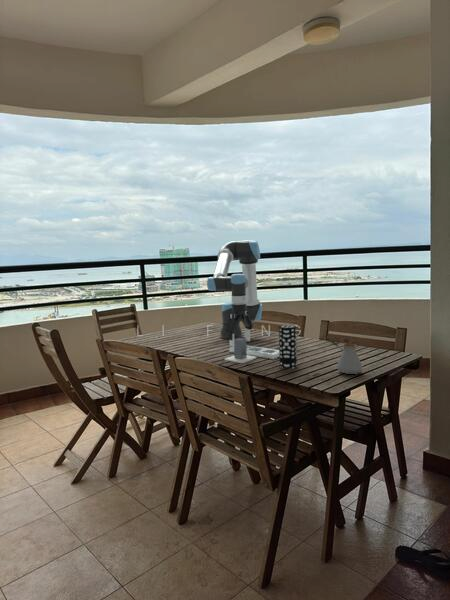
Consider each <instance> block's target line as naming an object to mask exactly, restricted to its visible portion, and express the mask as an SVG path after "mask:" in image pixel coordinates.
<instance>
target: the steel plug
mask: <svg viewBox="0 0 450 600" xmlns="http://www.w3.org/2000/svg"><path fill="white" fill-rule="evenodd" d="M234 345H235V346H234V353H233V354H234V355H233V356H234V358H237V359H244V358H246V357H247V353H246V345H247V341H246V339H245V338H243V337H241V338H237V339H234Z"/></svg>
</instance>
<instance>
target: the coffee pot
mask: <svg viewBox="0 0 450 600" xmlns="http://www.w3.org/2000/svg"><path fill="white" fill-rule="evenodd" d="M323 340H327V341H329V342H330V343H331V344H333V345H335V346H336V347H337V348H338V349H340V350H341V351H342V354H341V355H340V357H339V359H338V362H337V364H336V368H337V370H338V371H339V372H340V373H341V372H342V373H347V374H355V373H358V374H359V373H361V372H362V371H363V367H364V366H363V364H362V362H361V360H360V358H359V355H358V353H357V351H356V349H357V347H358V346H357V344H355V343H344V344H342V345H339V344H338V343H337V342H335V341H334V340H333V339H331V338H330V337H328V336H326V335H324V337H323ZM342 373H341V374H342Z"/></svg>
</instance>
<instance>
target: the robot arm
mask: <svg viewBox="0 0 450 600" xmlns="http://www.w3.org/2000/svg"><path fill="white" fill-rule="evenodd" d="M260 259H261V250H260V246H259V243H258V241H257V240H251V239H249V240H247V239H246V240H236V241H235V240H232V241H228V242H227V243H225V244H223V246H221V248H220V249H219V250H218V254H217V262H216V266H215V268H214V272H213V276H210V277H207V279H206V287H207V290H208V291H209V292H210V291H211V292H212V291H214V292H217V291H219V292H221V291H225V292H226V291H229V292H230V291H231V301H230V302H225V303H223V304H222V306H221V319H222V320H221V325H222V327H221V329H220V333H219V337H220V338H221V339H224V340H228V341H229V343H228V344H229V346H230V347H233V346H235V345H234V339H237V338H243V337H245V338H244V339H246V342H251V330H252V329H253V326H254V325H253V323H254V322H260V321H261V319H262V312H263V303H261V301H260V299H259V298H258V287H257V270H256V269H257V268H256V267H257V266H256V265H257V263H258V262H259V260H260ZM234 260H237V261H238V262H239V264H240V265H241V269H242V273H233V274H231V276H228V273H229V269H230V265H231V263H232V261H234ZM240 322H241V323H242V324H243V326H244V327H245V328H244V334H243V331H242V327H241V324H240ZM243 335H244V336H243Z"/></svg>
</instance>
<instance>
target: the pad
mask: <svg viewBox="0 0 450 600" xmlns="http://www.w3.org/2000/svg"><path fill="white" fill-rule="evenodd" d="M256 359H257V357H256V356H250V355H247V357H246V358H244V359H237V358H234V355H231V356H228V357H225V358H224V361H227V362H234V363H238V364H245V363H248V362H250V361H252V360H253V361H254V360H256Z"/></svg>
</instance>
